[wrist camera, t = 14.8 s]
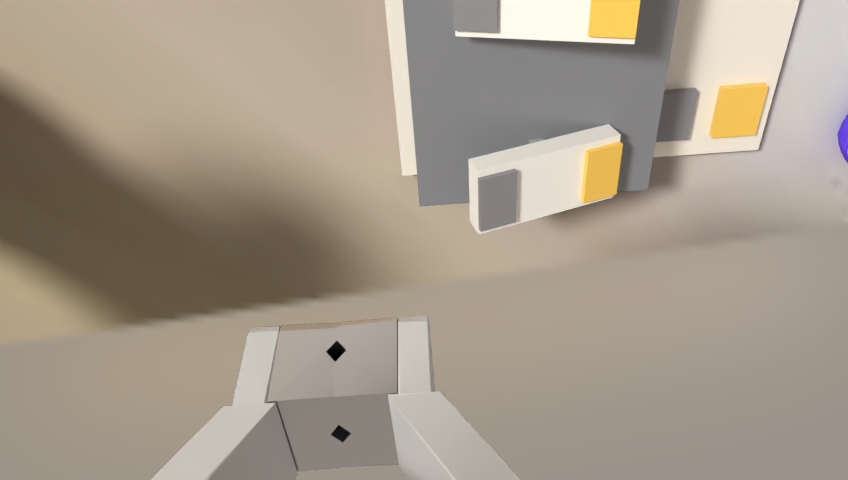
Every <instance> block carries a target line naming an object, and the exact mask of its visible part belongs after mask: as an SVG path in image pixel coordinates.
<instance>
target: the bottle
mask: <svg viewBox="0 0 848 480" xmlns="http://www.w3.org/2000/svg"><path fill="white" fill-rule="evenodd" d="M838 141H839V146H840V150H841V152H842V154H843V156H844V158H845V160H846V161H847V162H848V115H847V116H846V118H845V120H844V121H843V123H842V125H841V127H840V130H839V132H838Z"/></svg>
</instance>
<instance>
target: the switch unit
mask: <svg viewBox="0 0 848 480" xmlns="http://www.w3.org/2000/svg"><path fill="white" fill-rule="evenodd" d="M799 1H800V0H640V7H639V14H638V22H637V30H636V37H635V43H634V44H616V43H594V42H572V41H549V40H527V39H505V38H483V37H460V36H455V31H454V26H453V0H385V7H386V17H387V27H388V37H389V47H390V57H391V67H392V77H393V87H394V97H395V107H396V117H397V127H398V137H399V147H400V157H401V167H402V176H404V175H417V178H418V190H419V202H420V206H431V205H445V204H459V203H470V200H469V164H468V159H471V158H475V157H479V156H483V155H487V154H491V153H495V152H499V151H503V150H507V149H511V148H515V147H519V146H523V145H527V144H531V143H535V142H539V141H543V140H547V139H551V138H555V137H559V136H563V135H567V134H571V133H575V132H579V131H583V130H587V129H591V128H595V127H599V126H603V125H607V124H609V125H610V126H611V127H613V128H614V129H615V130H616V131H617V132H618V133H619V134H621V137H620V142H621V143H622V144H623V148H622V156H621V163H620V171H619V178H618V186H617V192H625V191H639V190H648V185H649V179H650V173H651V167H652V161H653V157H665V156H679V155H693V154H707V153H720V152H734V151H748V150H758V149H759V145H760V142H761V138H762V134H763V131H764V127H765V124H766V120H767V116H768V113H769V109H770V106H771V102H772V98H773V95H774V91H775V88H776V84H777V80H778V77H779V73H780V70H781V66H782V63H783V59H784V55H785V52H786V48H787V45H788V41H789V37H790V34H791V30H792V27H793V23H794V19H795V16H796V12H797V9H798V5H799Z"/></svg>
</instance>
